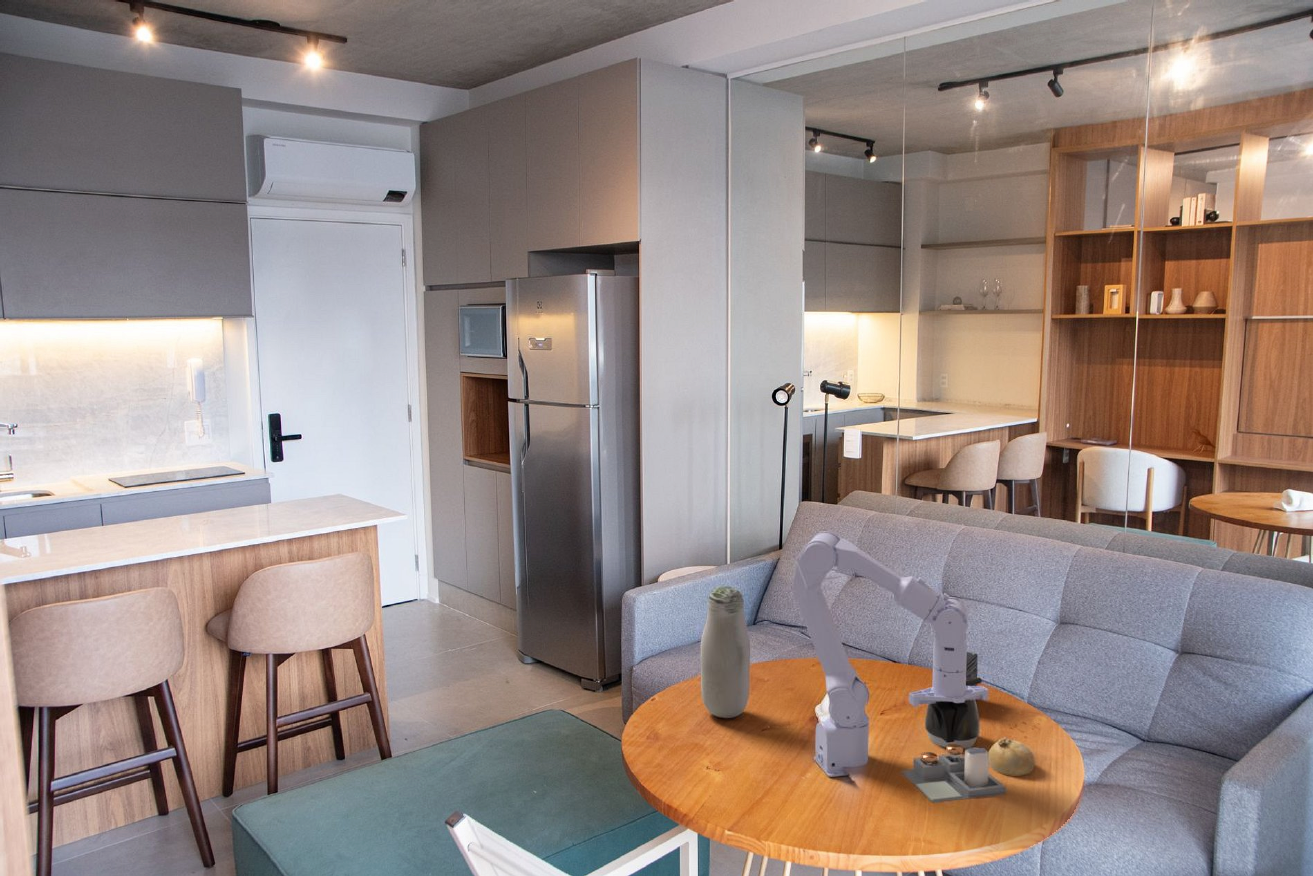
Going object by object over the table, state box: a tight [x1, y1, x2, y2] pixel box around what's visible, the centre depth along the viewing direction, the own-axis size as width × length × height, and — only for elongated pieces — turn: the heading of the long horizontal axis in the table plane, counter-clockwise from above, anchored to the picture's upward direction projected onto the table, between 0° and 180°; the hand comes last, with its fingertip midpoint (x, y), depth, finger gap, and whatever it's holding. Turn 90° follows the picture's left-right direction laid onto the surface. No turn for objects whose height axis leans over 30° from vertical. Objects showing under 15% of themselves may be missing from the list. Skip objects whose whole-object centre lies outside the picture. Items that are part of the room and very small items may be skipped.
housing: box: [899, 753, 1008, 804], centre depth 166 cm, size 14×12×4 cm
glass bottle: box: [700, 585, 751, 719], centre depth 199 cm, size 10×10×28 cm
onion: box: [988, 736, 1036, 777], centre depth 172 cm, size 8×8×7 cm
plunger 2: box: [945, 744, 964, 762], centre depth 170 cm, size 3×3×3 cm
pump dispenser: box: [924, 676, 983, 750], centre depth 183 cm, size 10×10×15 cm
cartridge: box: [964, 747, 990, 788], centre depth 165 cm, size 4×4×6 cm
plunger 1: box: [920, 751, 938, 765], centre depth 169 cm, size 3×3×3 cm
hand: (947, 740), depth 169 cm, fingers closed
